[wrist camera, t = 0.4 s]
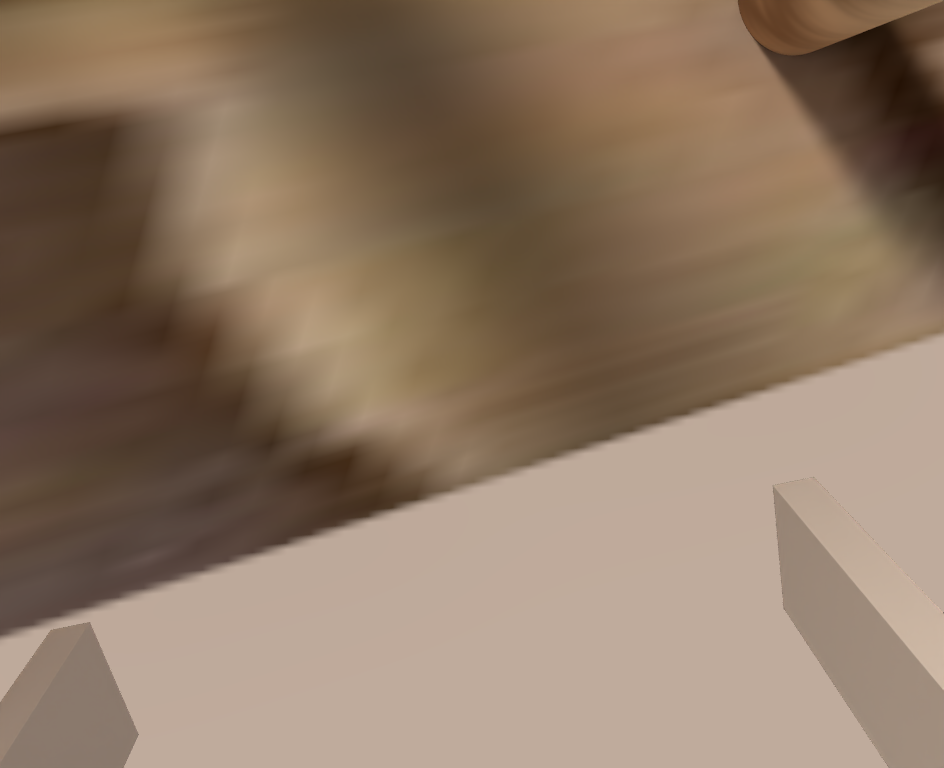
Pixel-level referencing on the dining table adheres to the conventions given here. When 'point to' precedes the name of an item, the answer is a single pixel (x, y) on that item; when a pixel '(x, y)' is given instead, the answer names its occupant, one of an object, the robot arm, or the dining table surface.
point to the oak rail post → (818, 20)
